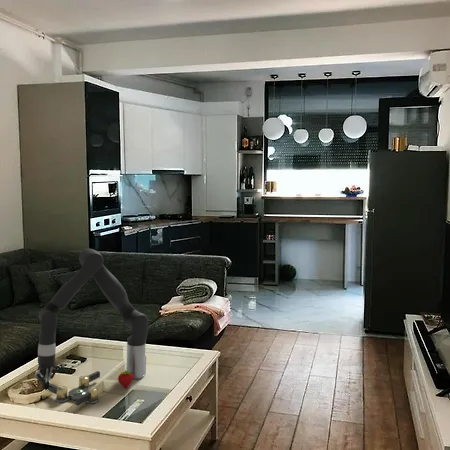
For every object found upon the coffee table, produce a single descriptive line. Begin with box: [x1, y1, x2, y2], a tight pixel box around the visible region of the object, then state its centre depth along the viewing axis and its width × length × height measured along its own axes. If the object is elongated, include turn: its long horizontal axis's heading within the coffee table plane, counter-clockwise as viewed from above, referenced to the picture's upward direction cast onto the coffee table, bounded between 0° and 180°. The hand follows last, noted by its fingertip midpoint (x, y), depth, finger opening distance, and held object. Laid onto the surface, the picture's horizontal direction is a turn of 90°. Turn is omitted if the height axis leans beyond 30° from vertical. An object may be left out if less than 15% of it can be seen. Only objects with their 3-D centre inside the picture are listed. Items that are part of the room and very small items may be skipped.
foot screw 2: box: [74, 386, 99, 407], centre depth 221 cm, size 12×5×5 cm, turn 152°
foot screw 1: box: [47, 382, 68, 400], centre depth 226 cm, size 12×5×5 cm, turn 57°
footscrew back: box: [78, 370, 101, 388], centre depth 239 cm, size 12×5×5 cm, turn 152°
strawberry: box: [117, 369, 134, 389], centre depth 238 cm, size 6×8×10 cm
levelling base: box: [55, 385, 100, 405], centre depth 227 cm, size 20×18×3 cm
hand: (45, 389), depth 226 cm, fingers closed
